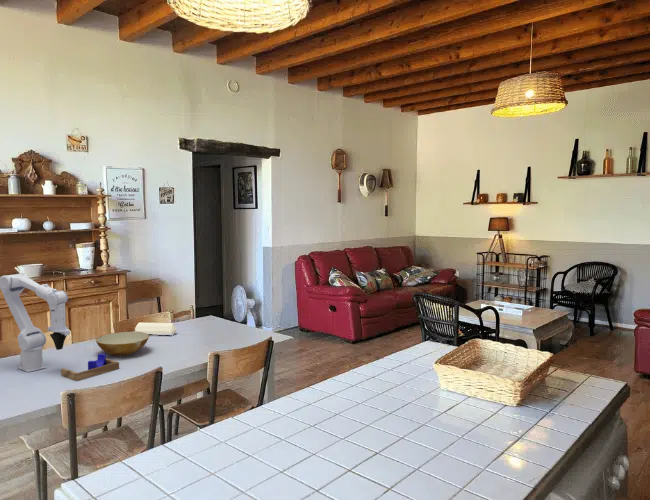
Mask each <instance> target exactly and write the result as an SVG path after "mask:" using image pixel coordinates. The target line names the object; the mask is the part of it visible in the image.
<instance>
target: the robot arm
mask: <svg viewBox="0 0 650 500" xmlns="http://www.w3.org/2000/svg"><path fill="white" fill-rule="evenodd" d="M25 288H26V289H28V290H30V291H32V292H35V296H37V297H38V298H41V299H42V300H45V301H46V303H47V304H48V308H49V310H50V326H47V332H51V333H50V334H49V336H50V337H51V339H52V341H53V344H54V347H55V350H57V351H59V350H63V348H64V344H65V340H66V339H67V336H70V335H71V330H70V329H69V327H68V326H67V323H66V321H67V320H66V317H67V316H66V303H67V302H68V301H69V300H68V299H69V296H68V293H67V292H66V291H64V290H57V288H53V287H51V286H49V284H48V283H45V284H44V283H43V284H40V283H38V282H36V281H35V280H33V279H32V278H29V275H27V274H25V273H22V272H20V273H16V274H9V275H6V274H4V275H2V276H0V291H1V293H2V295H3V298H4V300H5V301H6V305H7V307H8V308H9V310H10V313H11V314H12V317H13V318H14V321H15V323H16V325H17V328H18V329H19V331H20V332H19V334H18V335H17V337H16V338H17V341H18V346H19V348H20V350H21V351H20V354H19V358H20V359H19V361H20V366H18V367H17V368H18V369H20V370H22V371H25V372H27V373H31V372H35V371H39V370H43V369H46V368H47V367H48V366H47V365H44V364H43V348H44V346H45V345H46V344H47V343H46V342H47V336H46V335H45V334H44V333H43V331H42V329H41V328H39V327H37V326H34V324H33V322H32V320H31V318H30V315H29V314H28V311H27V309H26V307H25V306H24V303H23V302H22V299H21V297H20V294H21V293H23V291H24V290H25Z"/></svg>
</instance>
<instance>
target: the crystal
mask: <svg viewBox="0 0 650 500" xmlns="http://www.w3.org/2000/svg"><path fill="white" fill-rule="evenodd" d="M134 332H143V333H146V334H173V333H175V334H176V333H177V328H176V325H175V323H173V322H140V321H139V322H138V323H137V324H136V326H135V327H134Z"/></svg>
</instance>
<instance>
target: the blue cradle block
mask: <svg viewBox="0 0 650 500" xmlns="http://www.w3.org/2000/svg"><path fill="white" fill-rule="evenodd" d="M106 354H107V353H98V354H97V359H95V360H89V361H87V370H90V369H94V368H97V367H101V366H104V365H106V359H107V355H106Z"/></svg>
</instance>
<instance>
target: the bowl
mask: <svg viewBox="0 0 650 500" xmlns="http://www.w3.org/2000/svg"><path fill="white" fill-rule="evenodd" d="M149 338H150V335H148V334H146V333H143V332H136V331H118V332H111V333H107V334H104V335H100V336H98V337H97V338H95V342H96V344H97V345H98V347H99V348H100V349H101V350H102V351H103V352H104V353H105V354H108V355H111V356H114V357H126V356H127V355H128V356H131V354H132V355H133V354H134V355H135V354H136V352H139V351H140V350H141V349H142V348H143V347H144V346H145V345H146V344H147V342H148V340H149Z"/></svg>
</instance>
